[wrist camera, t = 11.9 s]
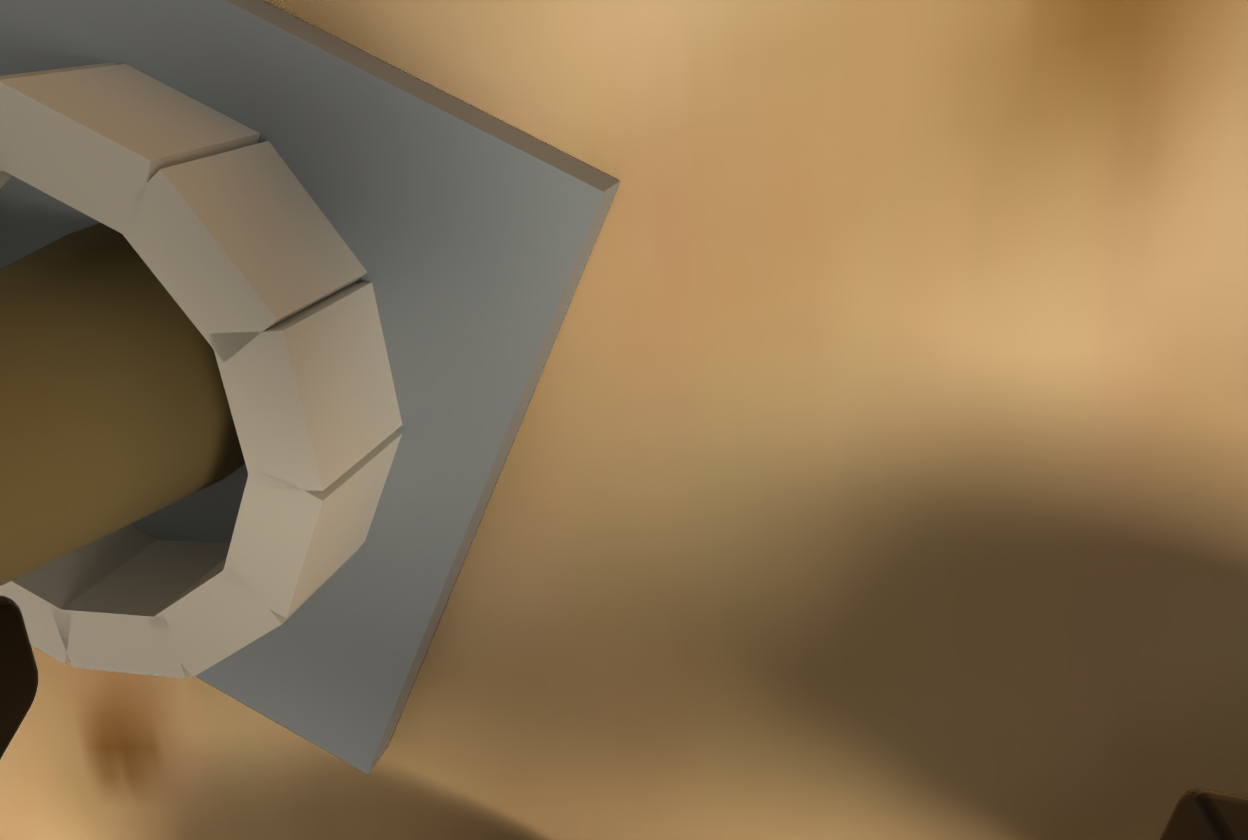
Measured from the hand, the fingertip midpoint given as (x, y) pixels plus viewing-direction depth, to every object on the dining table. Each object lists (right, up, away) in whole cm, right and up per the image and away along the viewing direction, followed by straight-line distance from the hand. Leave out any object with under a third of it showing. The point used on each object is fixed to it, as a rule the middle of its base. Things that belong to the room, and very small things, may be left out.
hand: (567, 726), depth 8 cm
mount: (-10, +4, +15) cm, 19 cm away
